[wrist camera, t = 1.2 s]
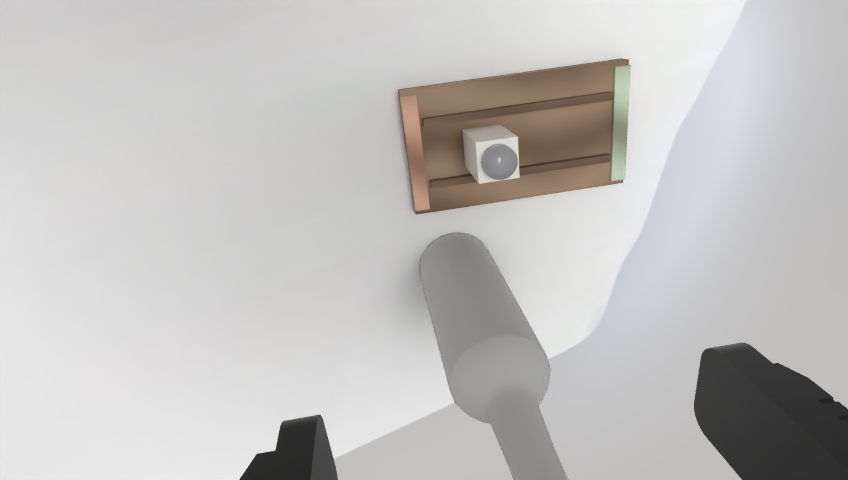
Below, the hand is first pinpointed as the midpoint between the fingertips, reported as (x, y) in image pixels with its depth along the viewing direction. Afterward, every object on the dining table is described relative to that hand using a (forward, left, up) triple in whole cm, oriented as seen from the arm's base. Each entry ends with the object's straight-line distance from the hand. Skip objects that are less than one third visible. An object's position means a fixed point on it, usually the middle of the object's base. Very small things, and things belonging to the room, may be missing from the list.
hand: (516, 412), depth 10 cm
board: (+2, +9, -32) cm, 33 cm away
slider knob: (+2, +6, -30) cm, 31 cm away
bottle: (+13, +3, -32) cm, 35 cm away
